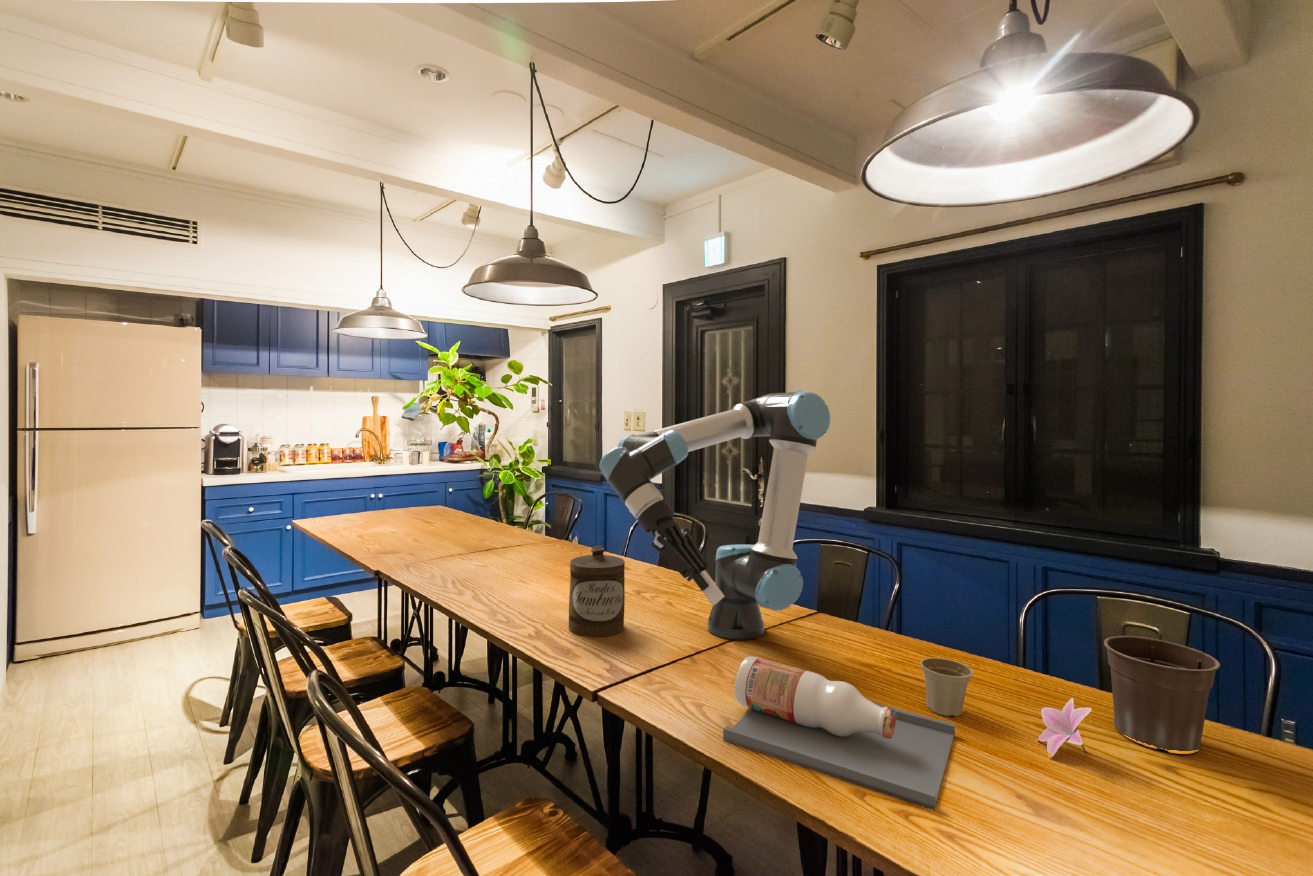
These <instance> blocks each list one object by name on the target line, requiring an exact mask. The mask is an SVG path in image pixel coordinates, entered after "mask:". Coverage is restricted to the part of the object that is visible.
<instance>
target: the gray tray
mask: <svg viewBox="0 0 1313 876" xmlns="http://www.w3.org/2000/svg"><path fill="white" fill-rule="evenodd" d="M873 703H874V704H876V705H877V706H879V707H882V708H884V707H888V706H886V705H883V704H880V703H879V704H878V703H876V702H873ZM889 707H890V706H889ZM890 708H892V709H894V710H895V711H896V726H895V731H894V734H893V737H892V738H891V739H887V738H884V737H882V736H880V734H878V733H873V732H858V733H854V734H852V735H849V736H845V737H841V736H836V735H833V734H831V733H830V732H828V731H827V730H825V729H823V728H821V727H817V728H811V727H807V726H803V725H800V724H797V723H794V722H791V721H788V720H785V719H782V718H779V717H776V716H773V715H770V714H767V713H764V712H761V711H758V710H755V709H752V708H750V710H749V711H748V712H747V713H746V714H744V716H742V718H741V719H739V721H738V722H736V723H735V725H733V726H727V725H726V726H725V727H724V728H723V729H722V730H723V732H722V740H723V741H725V742H728V743H731V744H734V745H737V746H740V747H743V748H746V749H749V750H752V751H756V752H758V753H761V754H764V755H767V756H770V757H772V758H776V759H778V760H782V761H785V762H788V763H790V764H794V765H798V766H800V767H802V768H805V769H807V770H808V769H809V770H812V771H814V772H818V773H821V774H825V775H826V776H829V777H833V778H835V779H839V780H842V781H845V782H848V783H851V784H854V785H857V786H859V787H863V788H866V789H868V790H872V791H875V792H878V793H881V794H884V795H887V796H890V797H893V798H896V799H899V800H902V801H905V802H907V803H911V804H914V805H916V804H917V806H919V805H920V806H919V807H922V806H924V807H923V808H926V809H928V808H930V809H929V810H931V809H933V810H932V811H935V809H936V806H937V802H936V801H938V797H939V795H940V791H939V790H941V787H942V783H943V780H944V776H943V775H945V771H946V769H945V768H947V765H946V764H948V761H949V757H948V756H950V754H949V753H951V750H950V749H952V746H951V745H953V743H954V739H955V735H956V734H955V732H956V724H955V723H953V722H950V721H949V722H948V721H945V720H940V719H936V718H933V717H930V716H925V715H921V714H917V713H914V712H909V711H906V710H902V709H897V708H895V707H892V706H891V707H890ZM954 734H955V735H954ZM953 738H954V739H953ZM952 742H953V743H952ZM947 760H948V761H947ZM942 779H943V780H942ZM938 794H939V795H938ZM935 805H936V806H935Z"/></svg>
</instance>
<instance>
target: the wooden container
mask: <svg viewBox="0 0 1313 876" xmlns="http://www.w3.org/2000/svg"><path fill="white" fill-rule="evenodd" d="M590 552H591V554H588V555H582V556H577V557H574V558H572V559H571V560H570V561H569V563H570V564H569V566H570V567H569V572H570V577H569V596H568V597H569V599H568V629H569V631H570V632H572V633H573V634H576V635H579V636H583V637H591V638H592V637H593V638H595V637H596V638H598V637H599V638H600V637H608V636H612V635H613V636H614V635H617V634H619V633H620V632H622V631H623V629H624V627H625V626H624V625H625V606H626V605H625V595H626V593H625V592H626V591H625V583H626V581H625V569H626V568H625V567H626V566H625V565H626V564H625V563H626V562H625V560H624V558H622V557H619V556H614V555H609V554H608V555H607V554H604V552H605V548H604V547H603V546H601V545H594V546H593V547H592V548H591V550H590Z"/></svg>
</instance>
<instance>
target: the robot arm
mask: <svg viewBox="0 0 1313 876" xmlns="http://www.w3.org/2000/svg"><path fill="white" fill-rule="evenodd" d="M830 424H831V414H830V409H829V407H828V404H826V402H825V400H824V399H823V398H822V397H821V396H820V395H818V394H817V393H814V392H810V391H802V390H798V391H792V392H791V391H790V392H772V393H768V394H765V395H762V396H759V397H756V398H753V399H750V400H747V401H744V402H742V403H737V404H735V405H734V406H733V408H732V409H730V410H726V411H722V412H718V413H714V414H711V415H707V416H703V417H700V418H695V419H691V420H689V421H685V422H682V423H678V424H674V425H669V426H667V427H663V428H660V429H656V430H652V431H648V432H644V433H641V434H629V435H626V436H624V437H623V438H622V439H620V440H619V442H618V443H617V447H614V448H612V449H610V450H609V451H608V452H607V453H605V454H604V455H603V456H602V458H601V459H600V461H599V466H598V467H599V470H600V471H601V473H602V475H603V476H604V478H605V479H606V481H607V483H608V484H609V485H610V486H611V488H612V489H613V490H614V491H615V493H616V494H617V496H618V497H619V498H620V499H621V500H622V502H623V504H624V505H625V506H626V508H627V509H628V511H629V513H630V514H631V515H632V516H633V517H634V519H637V523H638V525H639V526H640V527H641V528H642V530H643V531H644V533H646V534H648V535H652V536H653V538H654V540H653V541H651V546H652V547H653V548H654V549H655V550H657V552H659V553H660V554H662V556H663V557H664V558H665V559H666V560H667V561H668V562H669V563H670V564H671V566H672V567H673V568H674V569H675V570H676V571H677V572H678V573H679V575H681V576H682V577H683V578H684V579H686V581H688V582H690V581H692V580H693V581H694V583H695V584H696V585H697V587H698V588H699V589H700V591H701V592H702V594H703V595H704V596H705V597H706V599H707V600H708V602H709V603H710V604H711V606H712V608H711V611H710V614H709V617H708V619H707V630H708V632H709V633H711V634H712V635H714V636H716V637H720V638H725V639H728V640H742V641H743V640H744V641H745V640H754V639H758V638H760V637H762V636H763V635H764V633H765V623H764V620H763V616H762V613H761V612H762V611H761V609H760V607H762V608H764V609H768V610H772V611H783V610H786V609H788V608H790V607H791V605H792V604H795V603H796V601H797V600H798V599H799V598H800V596H801V593H802V591H803V586H804V578H803V575H802V574H801V571H800V570H799V568H797V561H798V556H797V554H796V553H795V551H794V550H793V546H794V540H795V534H796V528H797V523H798V517H799V511H800V504H801V500H802V493H803V487H804V483H805V482H804V481H805V475H806V470H807V463H808V459H809V455H810V453H812V452H813V451H814V450H816V448H817V441H818V439H819V440H820V439H821V438H823V437H824V434H826V433H827V431H828V430H829V428H830ZM754 437H755V438H756V437H757V438H758V437H769V438H768V439H769V440H768V442H769V444H770V445H771V446H772V447H773V451H772V459H771V464H770V471H769V476H768V481H767V487H766V494H765V497H764V504H763V511H762V516H761V521H760V529H759V534H758V539H757V542H756V543H755V544H727V545H724V544H723V545H720V546H718V548H717V549H716V554H715V580H713V579H712V577H711V576H710V574H709V573H708V571H707V569H708V568H709V564H708V561H707V560H706V558H705V557H704V555H703V553H702V552H701V550H700V549H699V546H698V545H697V543H696V541H695V540H694V539H693V536H692V533H691V531H690V528H687V527H685V528H684V529H682V528H680V525H679V524H677V522H676V521H674V519H673V518H674V515H675V511H674V510H673V508H672V507H671V505H670V504H669V503H668V501H667V500H665V499H664V496H663V494H661V492H660V491H659V490H658V488H656V486H655V485H654V483H653V482H652V480H653V479H654V478H655V477H657V476H659V475H661V474H662V473H665V472H666V471H668V470H669V469H671V468H672V467H675V466H678V465H679V464H680V463H681V462H682V461H683V460H685V459H686V458H687V457H688V456H689V452H693V451H696V450H699V449H703V448H706V447H711V446H713V445H718V444H720V443H724V442H727V441H730V440H731V441H732V440H734V439H738V438H740V439H744V440H748V439H751V438H754Z"/></svg>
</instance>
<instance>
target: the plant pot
mask: <svg viewBox="0 0 1313 876" xmlns="http://www.w3.org/2000/svg"><path fill="white" fill-rule="evenodd" d="M1103 645H1104V647H1105V648H1106V651H1107V661H1108V662H1107V663H1108V665H1109V668H1110V677H1111V690H1112V691H1111V692H1112V706H1113V708H1112V709H1113V723H1114V727H1115V729H1117V730H1118V731H1119V732H1121V733H1122V734H1124V735H1126V736H1128V737H1130V738H1132V739H1135V740H1136V741H1140V742H1142V743H1146V744H1148V745H1153V746H1155V747H1157V748H1163V749H1167V750H1177V751H1178V750H1179V751H1192V750H1193V751H1194V750H1198V749H1199V748H1200V749H1201V745H1202V737H1203V732H1204V727H1205V721H1206V720H1205V719H1206V714H1207V708H1208V707H1207V706H1208V702H1209V701H1208V700H1209V696H1210V691H1211V689H1212V688H1213V686H1214V681H1215V675H1216V671H1218V670H1219V669H1220V666H1221V663H1220V662H1219V661H1218V660H1217V659H1216V658H1214V657H1213V656H1211V655H1210V654H1207V653H1206V652H1203V651H1201V650H1198V649H1196V648H1192V647H1188V646H1186V645H1183V644H1179V643H1174V642H1172V641H1167V640H1161V639H1158V638H1157V639H1156V638H1152V637H1144V636H1133V635H1118V636H1111V637H1110V636H1109V637H1107V638H1105V639H1104V641H1103ZM1117 730H1116V731H1117ZM1118 731H1117V732H1118ZM1119 732H1118V733H1119ZM1163 749H1162V750H1163Z"/></svg>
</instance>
